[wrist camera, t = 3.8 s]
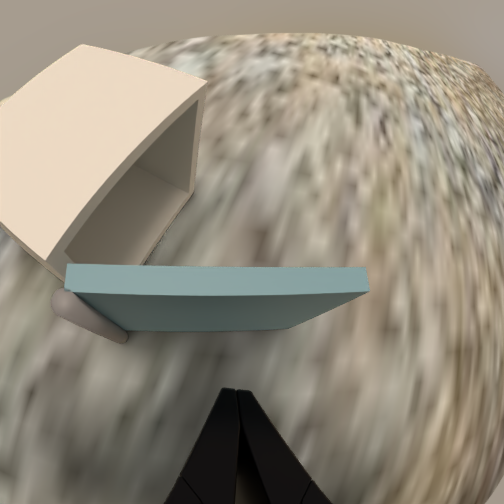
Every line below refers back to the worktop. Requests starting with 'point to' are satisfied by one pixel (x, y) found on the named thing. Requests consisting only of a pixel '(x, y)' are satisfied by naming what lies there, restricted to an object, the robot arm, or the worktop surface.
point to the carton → (98, 158)
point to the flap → (200, 297)
